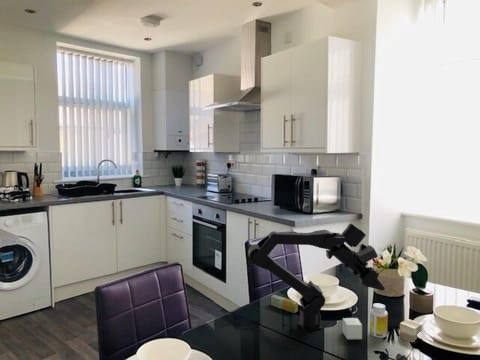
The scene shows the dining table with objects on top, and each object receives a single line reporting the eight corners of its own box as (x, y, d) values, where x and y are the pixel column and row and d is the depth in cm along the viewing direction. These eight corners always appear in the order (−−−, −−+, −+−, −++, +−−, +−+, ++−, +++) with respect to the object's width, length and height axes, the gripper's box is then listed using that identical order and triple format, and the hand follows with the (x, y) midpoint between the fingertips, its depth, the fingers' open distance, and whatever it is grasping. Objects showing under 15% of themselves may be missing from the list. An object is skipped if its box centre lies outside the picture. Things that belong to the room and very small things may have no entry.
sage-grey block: (347, 339, 123) (347, 325, 123) (342, 332, 128) (342, 318, 128) (361, 339, 123) (362, 324, 123) (356, 331, 128) (357, 318, 128)
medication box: (269, 305, 151) (269, 295, 151) (273, 303, 153) (273, 293, 153) (294, 314, 143) (294, 304, 143) (298, 311, 145) (298, 301, 145)
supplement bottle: (390, 334, 126) (391, 305, 125) (381, 340, 122) (382, 310, 122) (375, 328, 130) (376, 300, 129) (366, 333, 127) (367, 305, 126)
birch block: (414, 343, 120) (414, 328, 120) (399, 337, 124) (400, 322, 124) (422, 338, 123) (422, 324, 123) (407, 332, 127) (408, 318, 127)
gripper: (371, 247, 121) (406, 277, 122) (354, 232, 139) (384, 259, 140) (348, 272, 122) (382, 302, 123) (334, 254, 140) (364, 280, 141)
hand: (378, 284), depth 132 cm, fingers open, 9 cm apart
